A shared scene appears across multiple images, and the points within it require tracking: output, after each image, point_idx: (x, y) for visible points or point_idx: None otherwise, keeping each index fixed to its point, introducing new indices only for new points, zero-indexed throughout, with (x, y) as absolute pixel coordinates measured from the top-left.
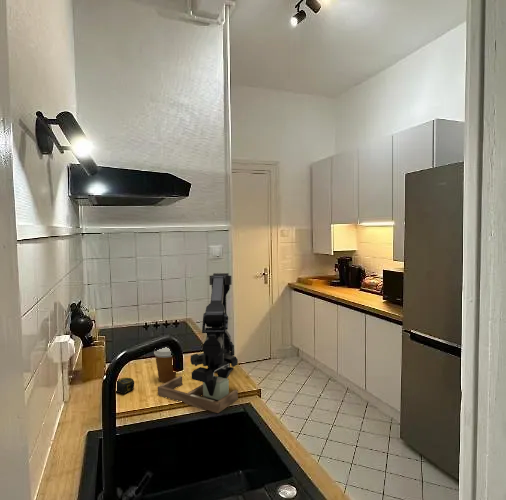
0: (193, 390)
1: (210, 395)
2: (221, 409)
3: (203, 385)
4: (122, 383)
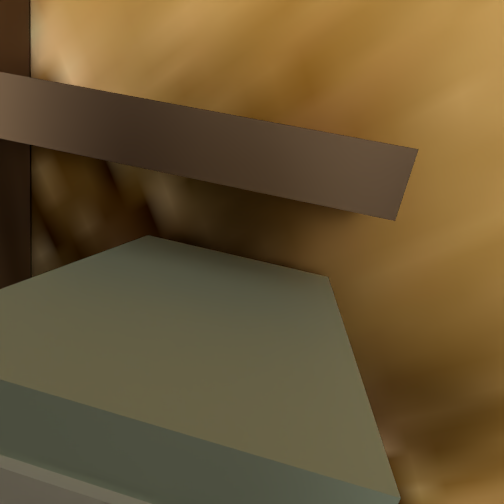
0: (14, 104)
1: None
2: None
3: (35, 287)
4: None
